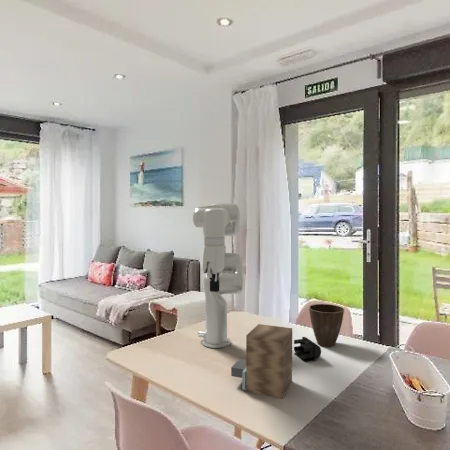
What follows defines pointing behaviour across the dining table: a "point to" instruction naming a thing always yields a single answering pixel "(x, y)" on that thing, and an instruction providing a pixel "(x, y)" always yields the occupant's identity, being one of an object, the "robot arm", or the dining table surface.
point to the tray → (240, 371)
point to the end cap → (307, 350)
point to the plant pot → (326, 323)
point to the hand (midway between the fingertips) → (214, 291)
